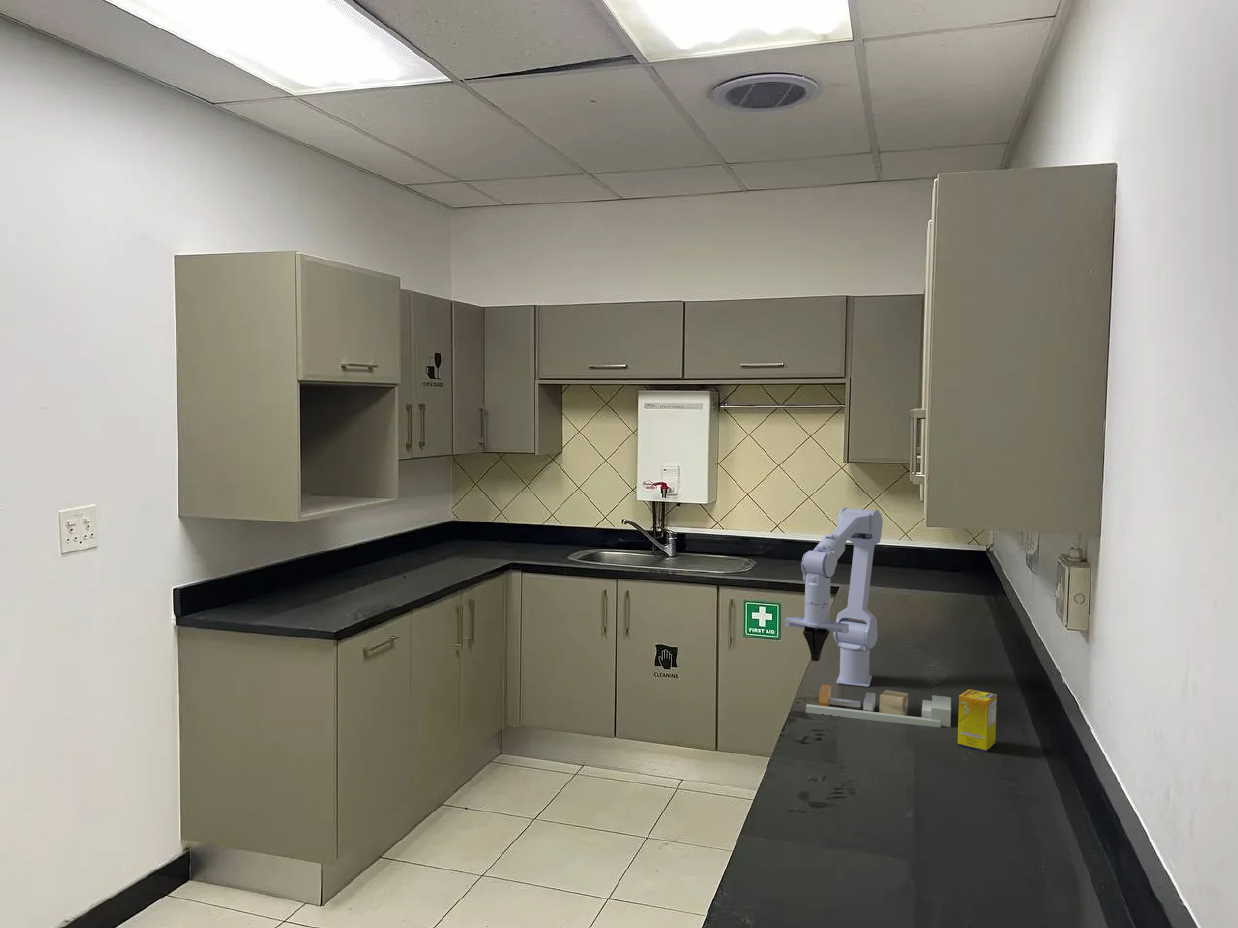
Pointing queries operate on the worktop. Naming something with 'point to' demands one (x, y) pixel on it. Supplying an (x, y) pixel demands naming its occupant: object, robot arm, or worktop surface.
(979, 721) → the supplement box
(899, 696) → the maple block
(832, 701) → the vise jaw
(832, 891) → the worktop surface
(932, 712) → the vise
